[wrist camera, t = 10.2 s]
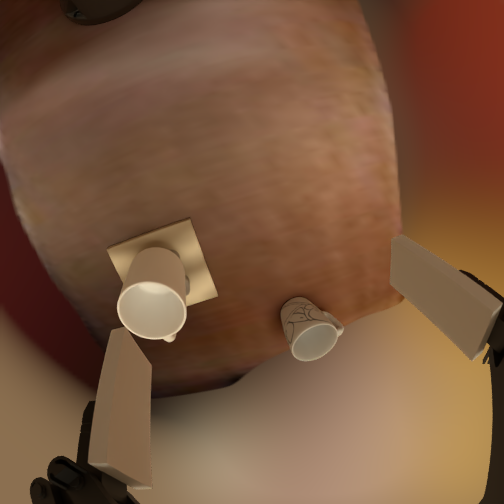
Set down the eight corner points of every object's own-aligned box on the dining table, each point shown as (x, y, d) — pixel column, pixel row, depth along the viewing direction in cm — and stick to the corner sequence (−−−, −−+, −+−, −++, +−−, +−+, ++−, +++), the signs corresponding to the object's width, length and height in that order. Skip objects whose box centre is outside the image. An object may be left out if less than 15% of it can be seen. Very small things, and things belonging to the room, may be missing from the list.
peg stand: (108, 247, 39) (102, 256, 36) (190, 217, 40) (190, 224, 37) (143, 315, 45) (141, 328, 42) (217, 292, 47) (220, 304, 43)
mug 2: (333, 290, 52) (358, 320, 43) (322, 324, 56) (343, 356, 47) (278, 291, 49) (298, 325, 40) (270, 328, 53) (286, 363, 44)
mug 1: (197, 307, 43) (202, 353, 34) (148, 318, 42) (143, 363, 33) (177, 239, 38) (175, 274, 28) (123, 252, 36) (106, 290, 27)
